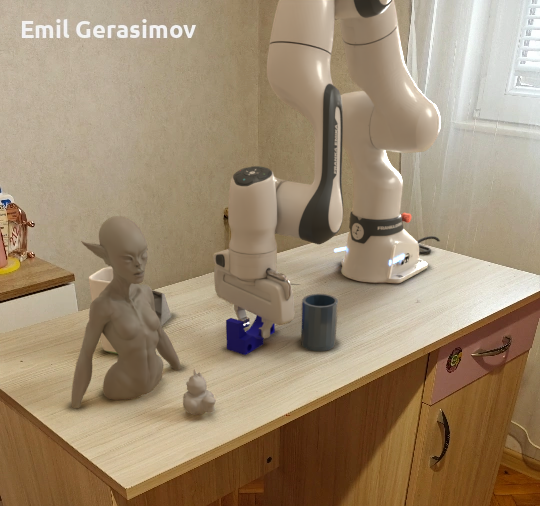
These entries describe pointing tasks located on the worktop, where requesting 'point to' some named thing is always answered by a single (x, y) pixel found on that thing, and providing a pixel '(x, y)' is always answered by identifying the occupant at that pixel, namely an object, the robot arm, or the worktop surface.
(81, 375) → the elf figurine
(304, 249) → the worktop surface
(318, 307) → the tumbler
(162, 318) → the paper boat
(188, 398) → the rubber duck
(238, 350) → the blue half clamp bracket
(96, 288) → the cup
